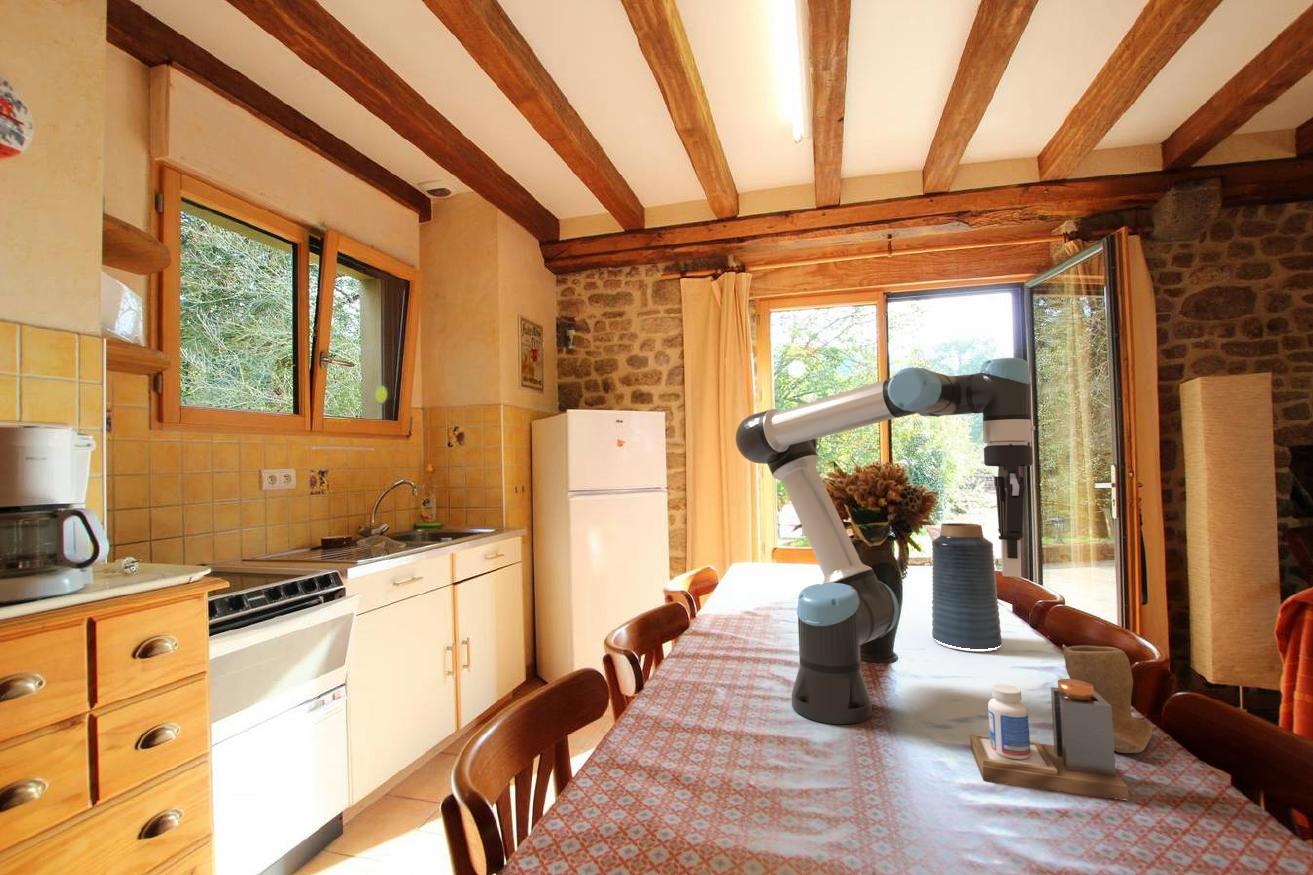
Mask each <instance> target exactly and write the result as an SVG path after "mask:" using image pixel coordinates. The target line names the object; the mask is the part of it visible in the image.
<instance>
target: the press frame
mask: <svg viewBox="0 0 1313 875" xmlns="http://www.w3.org/2000/svg"><path fill="white" fill-rule="evenodd" d="M1050 693H1051V694H1050V697H1051V713H1052V714H1051V715H1052V716H1051V717H1052V729H1053V730H1052V731H1053V735H1052V736H1053V745H1054V752H1055V754H1056V755H1057V757H1063V765H1064V767H1065V768H1066V770H1067V771H1074V772H1081V773H1089V774H1096V775H1104V776H1111V777H1116V773H1117V772H1116V760H1115V758H1116V757H1115V752H1114V739H1113V722H1112V706H1111V705H1110V704H1109V703H1108V702H1106V701H1105V700H1104V699H1103V698H1102V697H1101V696H1100V695H1099V694H1098V693H1097V692H1096V691H1094V699H1092V700H1077V699H1070V698H1068V697H1065V696H1063V695H1061V694H1060V693H1059V692H1058V687H1053V686H1051V687H1050Z"/></svg>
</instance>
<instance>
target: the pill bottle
mask: <svg viewBox="0 0 1313 875" xmlns="http://www.w3.org/2000/svg"><path fill="white" fill-rule="evenodd" d="M991 694H992V698H991V699H989V701H988V703H987V705H988V706H987V712H988V726H989V729H988V731H989V735H990V744H991V748H992V750H993V751H994V752H995V753H997V754H999V755H1001V756H1004V757H1007V758H1011V759H1026V758H1028V757H1029V756H1030V740H1031V739H1030V726H1029V723H1030V722H1029V711H1028V707H1027V706H1026V705H1025V704H1024V703H1022V698H1023V697H1022V696H1023V695H1022V690H1021V688H1019V687H1017V686H1014V685H1011V684H1005V683H1004V684H1003V683H997V684H996V683H995V684H993V685H992V686H991Z"/></svg>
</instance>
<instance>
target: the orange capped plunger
mask: <svg viewBox="0 0 1313 875" xmlns="http://www.w3.org/2000/svg"><path fill="white" fill-rule="evenodd" d="M1057 688H1058V692H1059V693H1060V694H1061V695H1063V696H1065V697H1068V698H1070V699H1077V700H1092V699H1094V690H1093V686H1092V685H1091V684H1089V683H1087V682H1084V681H1080V680H1075V679H1070V678H1061V679H1060V678H1059V679H1057Z"/></svg>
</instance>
